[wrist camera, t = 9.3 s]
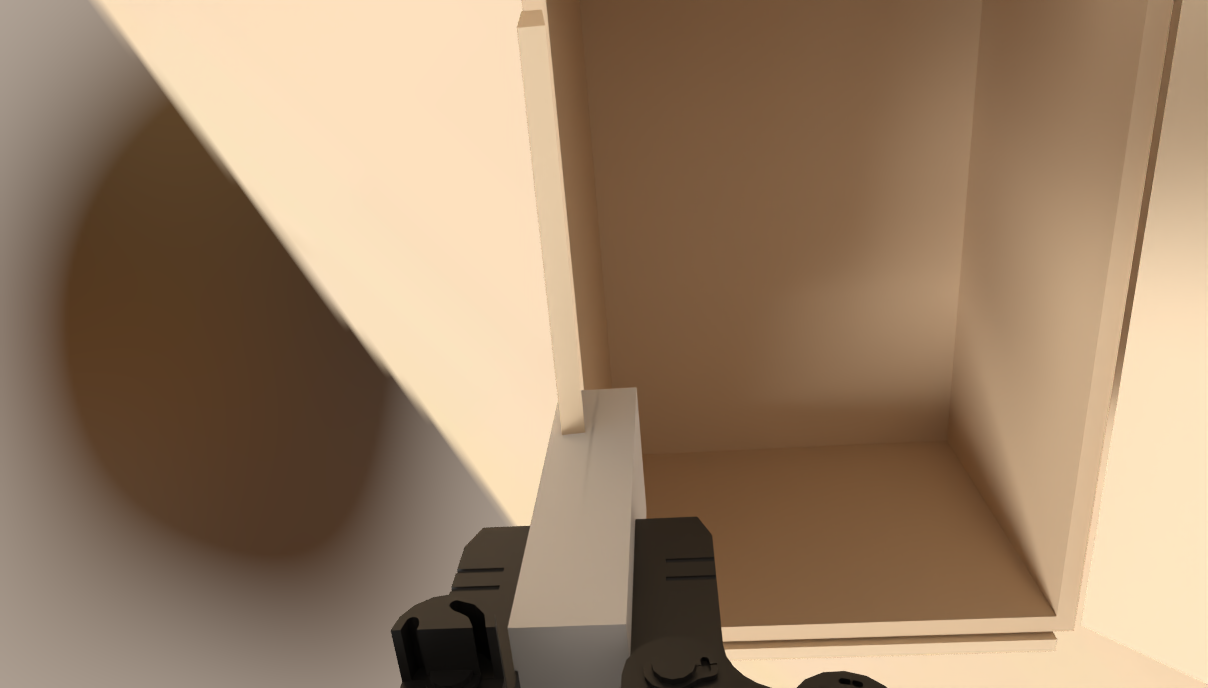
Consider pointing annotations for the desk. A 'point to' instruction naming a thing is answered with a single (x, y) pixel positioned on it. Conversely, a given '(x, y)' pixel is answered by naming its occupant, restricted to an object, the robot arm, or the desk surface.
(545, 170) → the left flap
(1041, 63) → the carton
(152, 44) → the desk surface
